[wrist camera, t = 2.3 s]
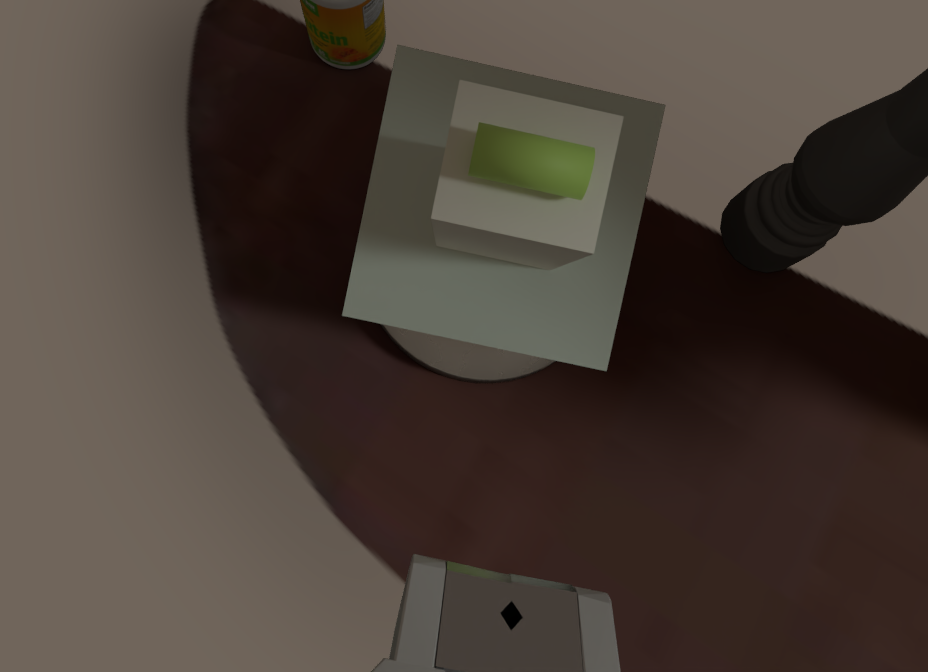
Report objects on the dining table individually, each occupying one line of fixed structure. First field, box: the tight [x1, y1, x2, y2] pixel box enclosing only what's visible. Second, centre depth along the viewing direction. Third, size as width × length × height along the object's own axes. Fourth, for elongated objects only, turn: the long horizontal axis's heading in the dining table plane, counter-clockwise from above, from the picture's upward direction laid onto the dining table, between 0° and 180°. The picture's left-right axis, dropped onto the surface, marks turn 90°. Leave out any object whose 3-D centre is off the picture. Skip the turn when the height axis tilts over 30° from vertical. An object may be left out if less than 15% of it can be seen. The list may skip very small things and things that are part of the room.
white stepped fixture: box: [342, 45, 665, 371], centre depth 28 cm, size 14×14×13 cm
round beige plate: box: [381, 324, 555, 384], centre depth 39 cm, size 16×16×8 cm
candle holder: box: [720, 69, 928, 273], centre depth 33 cm, size 6×6×25 cm
